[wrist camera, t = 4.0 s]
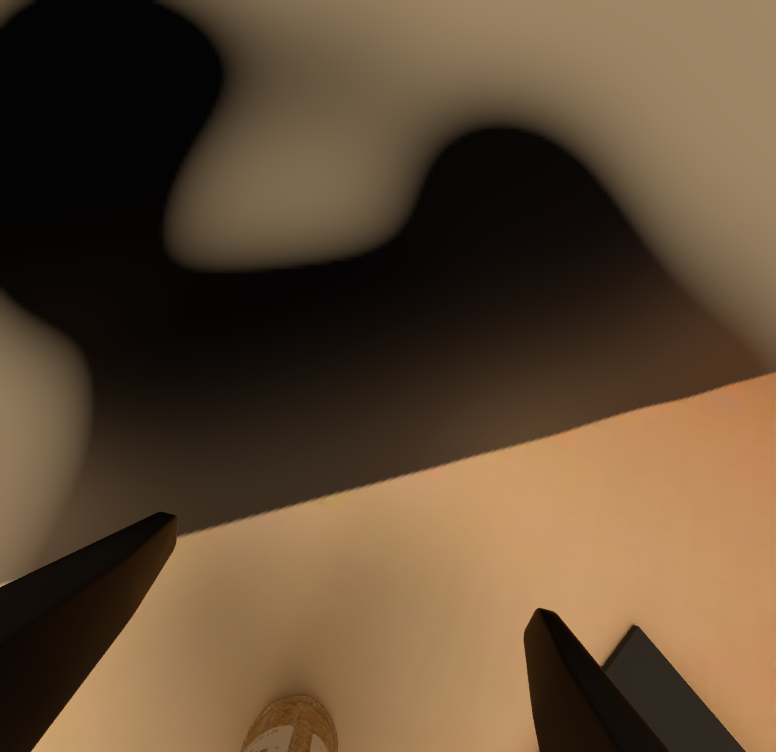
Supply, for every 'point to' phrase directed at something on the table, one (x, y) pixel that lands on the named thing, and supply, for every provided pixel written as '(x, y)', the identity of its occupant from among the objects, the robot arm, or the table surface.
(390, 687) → the table surface
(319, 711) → the sprinkles bottle
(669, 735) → the desk mat
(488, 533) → the table surface
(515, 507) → the table surface
